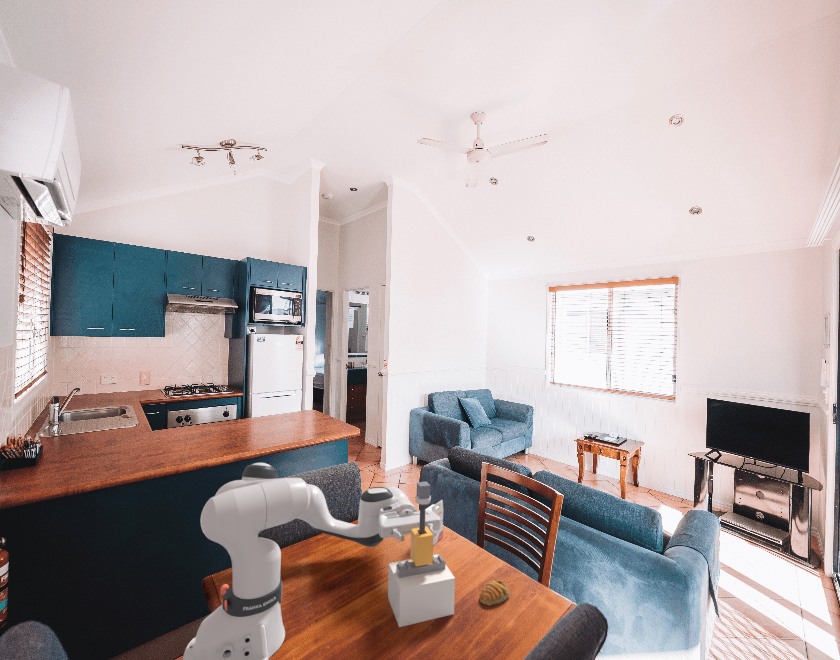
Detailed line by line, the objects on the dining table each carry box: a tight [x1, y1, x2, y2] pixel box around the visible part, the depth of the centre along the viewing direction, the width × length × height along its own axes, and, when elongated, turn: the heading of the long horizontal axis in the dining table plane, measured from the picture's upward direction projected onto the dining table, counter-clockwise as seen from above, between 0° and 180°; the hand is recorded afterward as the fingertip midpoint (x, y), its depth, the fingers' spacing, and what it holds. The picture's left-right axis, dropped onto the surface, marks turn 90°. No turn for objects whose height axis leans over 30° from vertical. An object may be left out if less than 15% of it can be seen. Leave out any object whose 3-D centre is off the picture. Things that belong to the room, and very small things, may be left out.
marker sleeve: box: [409, 527, 434, 566], centre depth 108 cm, size 5×5×8 cm
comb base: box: [387, 553, 456, 628], centre depth 108 cm, size 16×12×13 cm
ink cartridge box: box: [426, 499, 444, 546], centre depth 143 cm, size 9×5×15 cm, turn 147°
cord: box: [414, 481, 432, 534], centre depth 108 cm, size 4×4×25 cm
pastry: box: [479, 578, 510, 607], centre depth 112 cm, size 9×7×4 cm
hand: (417, 536), depth 114 cm, fingers open, 8 cm apart
